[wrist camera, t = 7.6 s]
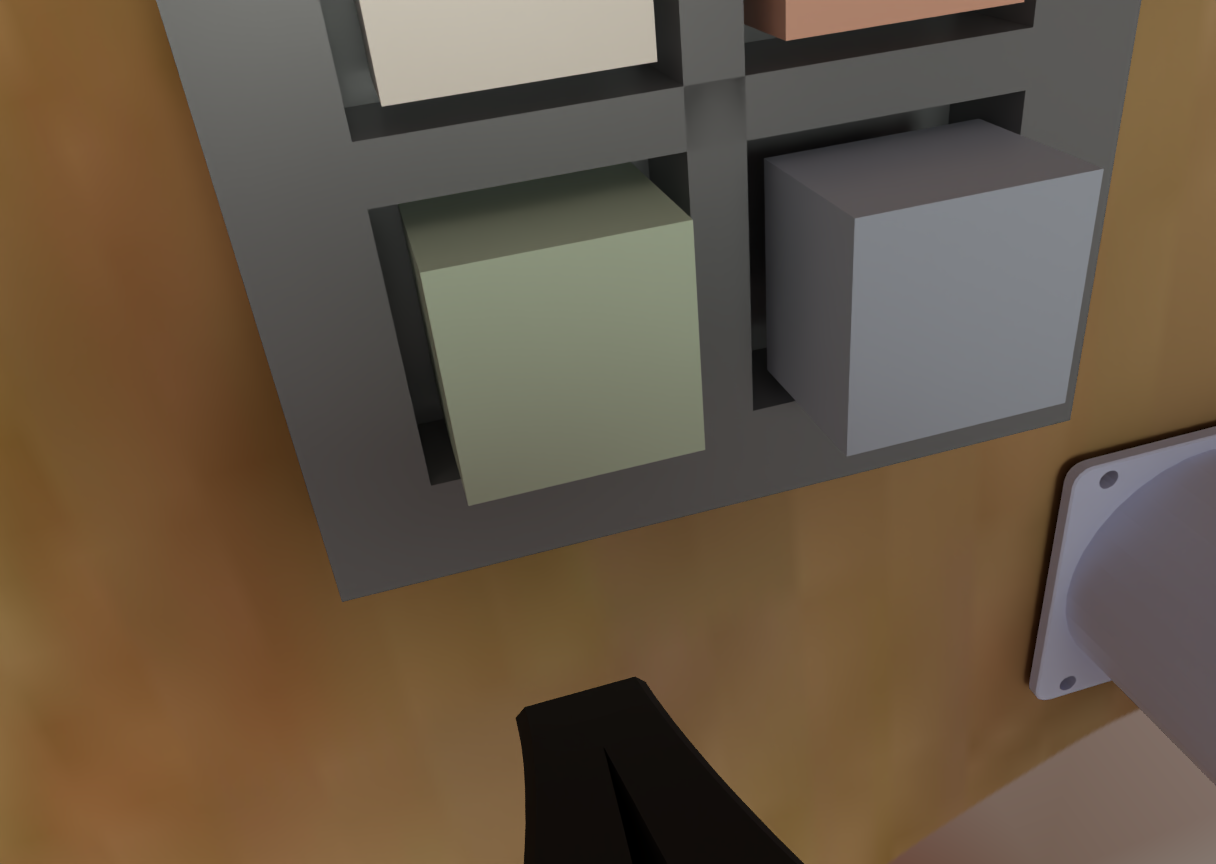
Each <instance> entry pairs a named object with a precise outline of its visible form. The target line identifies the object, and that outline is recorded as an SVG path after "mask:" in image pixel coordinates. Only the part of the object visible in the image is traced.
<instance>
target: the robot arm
mask: <svg viewBox="0 0 1216 864" xmlns="http://www.w3.org/2000/svg"><path fill="white" fill-rule="evenodd" d="M1111 680H1112V681H1113V682H1114V683H1115V684H1116V685H1117V686H1118V687H1119V688H1120V689H1121V690H1122V691H1123V692H1124V693H1125V694H1126V695H1127V696H1128V697H1129V698H1130V699H1131V700H1132V701H1133V702H1134V703H1135V704H1136V705H1137V706H1138V707H1139V708H1140V709H1141V710H1142V711H1143V712H1144V713H1145V714H1146V715H1147V716H1148V717H1149V718H1150V719H1151V720H1152V721H1153V722H1154V723H1155V724H1156V725H1157V726H1158V727H1159V728H1160V729H1161V731H1163V733H1164V734H1165V735H1166V736H1167V737H1168V738H1169V739H1170V740H1171V741H1172V742H1173V743H1175V745H1176V746H1177V747H1178V748H1180V750H1181V751H1182V752H1183V753H1184V754H1185V755H1186V756H1187V757H1188V758H1189V759H1190V760H1191V761H1192V762H1193V763H1194V764H1195V765H1196V766H1197V767H1198V768H1199V769H1200V770H1201V771H1202V772H1203V773H1204V774H1205V775H1206V776H1207V777H1208V778H1209V779H1210V780H1211V781H1212V782H1213V783H1214V784H1215V785H1216V426H1215V427H1211V428H1207V429H1203V430H1199V431H1195V432H1191V433H1188V434H1184V435H1180V436H1176V437H1172V438H1168V439H1164V440H1160V441H1157V442H1153V443H1149V444H1145V445H1141V446H1137V447H1133V448H1130V449H1126V450H1122V451H1118V452H1114V453H1110V454H1106V455H1102V456H1099V457H1095V458H1091V459H1087V460H1084V461H1081V462H1079V463H1077V464H1076V465H1074V466H1073V467H1072V468H1071V469H1070V470H1069V471H1068V473H1067V474H1066V477H1065V480H1064V484H1063V490H1062V496H1061V502H1060V508H1059V513H1058V519H1057V525H1056V531H1055V537H1054V542H1053V548H1052V554H1051V560H1050V566H1049V571H1048V577H1047V583H1046V589H1045V594H1044V600H1043V606H1042V612H1041V618H1040V623H1039V629H1038V635H1037V641H1036V647H1035V652H1034V658H1033V664H1032V670H1031V675H1030V681H1029V689H1030V690H1031V691H1032V692H1033V693H1034V694H1035V695H1036V697H1037V698H1038V699H1041V700H1048V699H1053V698H1056V697H1059V696H1062V695H1066V694H1069V693H1072V692H1075V691H1079V690H1082V689H1085V688H1089V687H1092V686H1095V685H1098V684H1102V683H1105V682H1108V681H1111ZM516 721H517V726H518V731H519V736H520V740H521V746H522V754H523V762H524V775H525V815H526V829H525V852H524V864H804V863H803V862H802V861H801V860H800V859H799V858H798V857H797V856H796V855H795V854H794V853H793V852H792V851H791V850H790V849H789V848H788V847H787V846H786V845H785V844H784V843H783V842H782V841H781V840H780V839H779V838H777V837H776V836H775V835H774V834H773V832H772V831H771V830H770V829H769V828H768V827H767V826H766V825H765V824H764V823H763V822H762V821H761V820H760V819H759V818H758V817H757V816H756V815H755V814H754V812H753V811H752V810H751V809H750V808H749V807H748V806H747V805H746V804H745V803H744V802H743V801H742V800H741V799H740V798H739V797H738V796H737V795H736V794H735V792H734V791H733V790H732V789H731V788H730V787H729V786H728V785H727V784H726V783H725V782H724V780H723V779H722V778H721V777H720V776H719V775H718V774H717V773H716V771H715V770H714V769H713V768H712V767H711V766H710V765H709V763H708V762H707V761H706V760H705V759H704V757H703V756H702V755H701V754H700V753H699V752H698V750H697V749H696V748H695V747H694V746H693V745H692V743H691V742H690V741H689V740H688V738H687V737H686V736H685V735H684V734H683V732H682V731H681V730H680V729H679V727H678V726H677V725H676V724H675V722H674V721H673V720H672V718H671V717H670V716H669V714H668V713H667V712H666V710H665V709H664V708H663V706H662V705H661V704H660V702H659V701H658V700H657V698H656V697H655V695H654V694H653V693H652V691H651V690H650V688H649V687H648V685H647V684H646V682H644V681H642V680H640V679H639V678H637V677H632V678H628V679H625V680H621V681H618V682H614V683H610V684H607V685H603V686H600V687H596V688H592V689H589V690H585V691H582V692H578V693H574V694H571V695H567V696H563V697H560V698H556V699H553V700H549V701H545V702H542V703H538V704H535V705H531V706H527V707H525V708H524V709H523V710H522V711H521V712H520V714H519V715H518V716H517V717H516Z"/></svg>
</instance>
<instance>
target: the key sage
mask: <svg viewBox="0 0 1216 864" xmlns="http://www.w3.org/2000/svg"><path fill="white" fill-rule="evenodd" d="M398 207H399V212H400V217H401V221H402V226H403V231H404V235H405V240H406V245H407V250H408V254H409V259H410V264H411V268H412V273H413V278H414V282H415V287H416V292H417V297H418V301H419V306H420V311H421V315H422V320H423V325H424V329H425V334H426V339H427V344H428V348H429V353H430V358H431V362H432V367H433V372H434V376H435V381H436V386H437V391H438V395H439V400H440V405H441V409H442V413H443V417H444V421H445V424H446V428H447V431H448V435H449V438H450V442H451V445H452V449H453V453H454V456H455V460H456V463H457V467H458V470H459V474H460V477H461V481H462V484H463V488H464V492H465V495H466V499H467V502H468V506H471V505H475V504H479V503H484V502H488V501H492V500H496V499H500V498H505V497H509V496H513V495H517V494H521V493H526V492H530V491H534V490H538V489H542V488H547V487H551V486H555V485H559V484H563V483H568V482H572V481H576V480H580V479H584V478H589V477H593V476H597V475H601V474H605V473H610V472H614V471H618V470H622V469H626V468H631V467H635V466H639V465H643V464H647V463H652V462H656V461H660V460H664V459H668V458H673V457H677V456H681V455H685V454H689V453H694V452H698V451H702V450H705V434H704V416H703V397H702V379H701V360H700V342H699V323H698V304H697V286H696V267H695V249H694V230H693V219H692V218H690V217H689V216H688V215H687V214H686V213H685V212H684V211H683V210H682V209H681V208H680V207H679V206H678V205H676V204H675V203H674V202H673V201H672V200H671V199H670V198H669V197H668V196H667V195H666V194H665V193H663V192H662V191H661V190H660V189H659V188H658V187H657V186H656V185H655V184H654V183H653V182H652V181H651V180H649V179H648V178H647V177H646V176H645V175H644V174H643V173H642V172H641V171H640V170H639V169H638V168H636V167H635V166H634V165H633V164H632V163H631V162H627V163H622V164H616V165H611V166H605V167H600V168H594V169H589V170H583V171H578V172H572V173H567V174H561V175H556V176H550V177H544V178H539V179H533V180H528V181H522V182H517V183H511V184H506V185H500V186H495V187H489V188H484V189H478V190H473V191H467V192H462V193H456V194H451V195H445V196H440V197H434V198H428V199H423V200H417V201H412V202H406V203H401V204H398Z"/></svg>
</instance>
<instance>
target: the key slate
mask: <svg viewBox="0 0 1216 864" xmlns="http://www.w3.org/2000/svg"><path fill="white" fill-rule="evenodd" d="M1103 171H1104V169H1103V168H1101V167H1098V166H1096V165H1093V164H1091V163H1088V162H1086V161H1083V160H1081V159H1078V158H1076V157H1073V156H1071V155H1069V154H1066V153H1064V152H1061V151H1059V150H1056V149H1054V148H1051V147H1049V146H1046V145H1044V144H1041V143H1039V142H1036V141H1034V140H1031V139H1029V138H1026V137H1024V136H1021V135H1019V134H1016V133H1014V132H1011V131H1009V130H1006V129H1004V128H1001V127H999V126H996V125H994V124H991V123H989V122H986V121H984V120H981V119H974V120H968V121H963V122H958V123H952V124H947V125H941V126H936V127H930V128H925V129H920V130H914V131H909V132H903V133H898V134H893V135H887V136H882V137H876V138H871V139H866V140H860V141H855V142H849V143H844V144H839V145H833V146H828V147H822V148H817V149H812V150H806V151H801V152H795V153H790V154H785V155H779V156H774V157H768V158H764V192H765V260H766V328H767V370H768V371H769V372H770V373H771V374H772V376H773V377H774V378H775V379H776V380H777V381H778V382H779V383H780V384H781V385H782V386H783V388H784V389H785V390H786V391H787V392H788V393H789V394H790V395H791V396H792V397H793V398H794V400H795V401H796V402H797V403H798V404H799V405H800V406H801V407H802V408H803V409H804V410H805V412H806V413H807V414H808V415H809V416H810V417H811V418H812V419H813V420H814V421H815V423H816V424H817V425H818V426H819V427H820V428H821V429H822V430H823V431H824V432H825V433H826V435H827V436H828V437H829V438H830V439H831V440H832V441H833V442H834V443H835V444H836V445H837V447H838V448H839V449H840V450H841V451H842V452H843V453H844V454H845V455H846V456H851V455H855V454H859V453H863V452H867V451H871V450H875V449H879V448H884V447H888V446H892V445H896V444H900V443H904V442H908V441H912V440H916V439H920V438H924V437H928V436H932V435H936V434H940V433H945V432H949V431H953V430H957V429H961V428H965V427H969V426H973V425H977V424H981V423H985V422H989V421H993V420H997V419H1001V418H1005V417H1010V416H1014V415H1018V414H1022V413H1026V412H1030V411H1034V410H1038V409H1042V408H1046V407H1050V406H1054V405H1058V404H1062V403H1065V401H1066V395H1067V389H1068V382H1069V376H1070V370H1071V364H1072V358H1073V352H1074V346H1075V340H1076V334H1077V328H1078V322H1079V316H1080V310H1081V304H1082V298H1083V292H1084V286H1085V280H1086V274H1087V267H1088V261H1089V255H1090V249H1091V243H1092V237H1093V231H1094V225H1095V219H1096V213H1097V207H1098V201H1099V195H1100V189H1101V183H1102V177H1103Z"/></svg>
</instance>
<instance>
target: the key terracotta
mask: <svg viewBox="0 0 1216 864" xmlns="http://www.w3.org/2000/svg"><path fill="white" fill-rule="evenodd" d="M1021 2H1024V0H743V5H744V24H745V25H747V26H750V27H752V28H755V29H757V30H760V31H762V32H765V33H767V34H770V35H772V36H775V37H777V38H780V39H782V40H785V41H789V40H795V39H801V38H807V37H813V36H819V35H825V34H832V33H838V32H844V31H850V30H856V29H862V28H868V27H874V26H881V25H887V24H893V23H899V22H905V21H911V20H917V19H923V18H930V17H936V16H942V15H948V14H954V13H960V12H966V11H972V10H979V9H985V8H991V7H997V6H1003V5H1009V4H1015V3H1021Z"/></svg>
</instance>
